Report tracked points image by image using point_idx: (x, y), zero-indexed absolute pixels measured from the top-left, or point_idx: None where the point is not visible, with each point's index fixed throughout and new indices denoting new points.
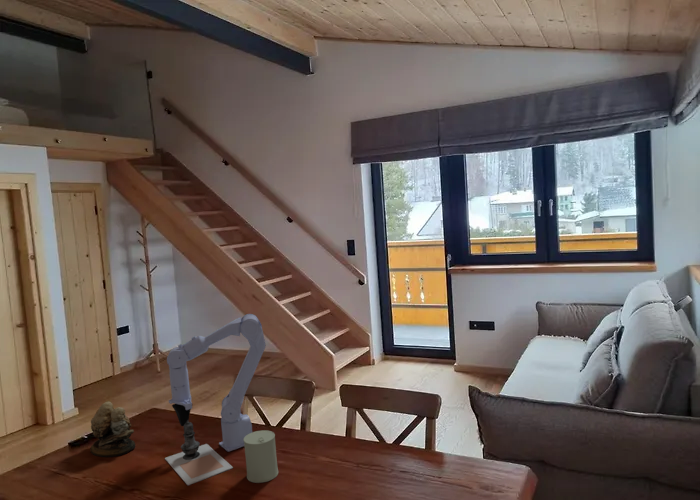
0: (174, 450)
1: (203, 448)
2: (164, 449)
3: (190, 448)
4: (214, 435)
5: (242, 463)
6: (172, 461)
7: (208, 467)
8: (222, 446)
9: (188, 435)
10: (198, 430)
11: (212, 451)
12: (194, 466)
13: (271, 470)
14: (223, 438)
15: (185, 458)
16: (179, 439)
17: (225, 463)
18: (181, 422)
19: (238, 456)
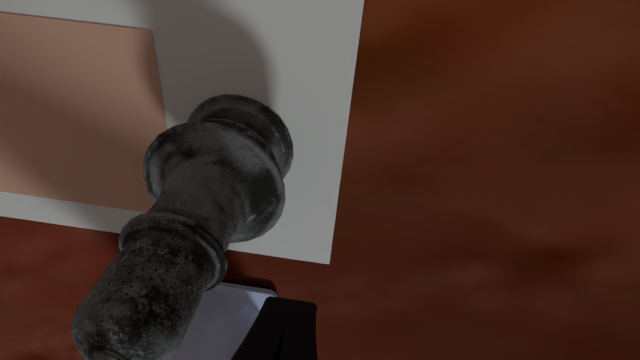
0: (439, 115)
1: (284, 229)
2: (537, 71)
3: (146, 165)
4: (402, 324)
5: (5, 249)
6: (250, 19)
7: (15, 139)
8: (220, 285)
9: (123, 238)
10: (556, 318)
11: None
12: (69, 91)
13: None
14: (194, 327)
15: (217, 103)
16: (572, 211)
17: (26, 210)
18: (246, 339)
19: (86, 272)
